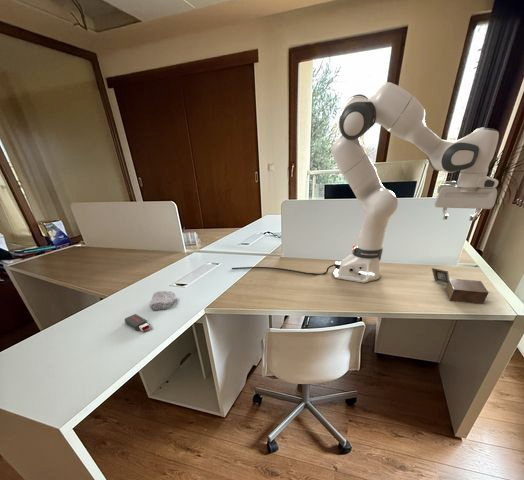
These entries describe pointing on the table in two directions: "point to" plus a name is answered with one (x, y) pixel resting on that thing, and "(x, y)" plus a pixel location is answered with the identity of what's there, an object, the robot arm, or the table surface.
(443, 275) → the paper boat
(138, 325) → the usb drive
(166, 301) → the stone block
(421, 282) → the table surface
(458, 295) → the walnut block
